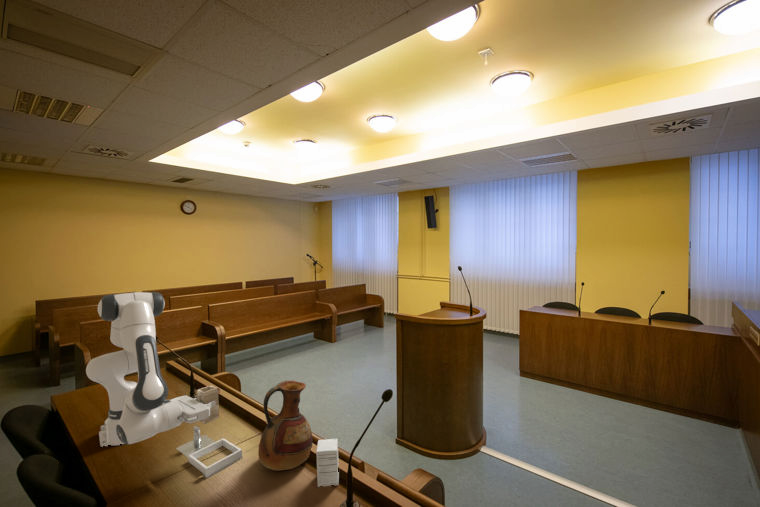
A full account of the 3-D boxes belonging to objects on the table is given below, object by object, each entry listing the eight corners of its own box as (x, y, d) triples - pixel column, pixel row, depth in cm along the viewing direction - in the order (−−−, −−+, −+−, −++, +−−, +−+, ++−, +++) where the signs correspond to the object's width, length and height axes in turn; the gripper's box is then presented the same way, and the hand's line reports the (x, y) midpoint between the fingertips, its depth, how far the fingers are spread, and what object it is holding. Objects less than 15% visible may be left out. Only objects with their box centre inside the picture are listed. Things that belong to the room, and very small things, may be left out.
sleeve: (198, 420, 134) (196, 390, 134) (216, 412, 139) (214, 383, 139) (205, 424, 130) (203, 393, 130) (223, 416, 136) (221, 386, 136)
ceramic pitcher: (318, 467, 127) (316, 388, 126) (262, 485, 118) (259, 401, 117) (305, 440, 145) (303, 371, 144) (256, 454, 136) (253, 381, 135)
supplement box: (318, 473, 124) (317, 439, 123) (339, 471, 124) (338, 437, 124) (316, 487, 116) (315, 451, 116) (338, 485, 117) (337, 449, 117)
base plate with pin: (175, 450, 140) (174, 429, 140) (205, 436, 150) (204, 417, 149) (189, 461, 133) (188, 439, 133) (218, 445, 142) (218, 425, 142)
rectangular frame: (188, 464, 131) (188, 455, 131) (223, 446, 142) (223, 438, 142) (206, 478, 122) (206, 468, 122) (242, 458, 134) (241, 449, 134)
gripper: (184, 413, 117) (223, 398, 129) (160, 399, 130) (197, 387, 141) (185, 431, 118) (224, 415, 129) (161, 416, 130) (198, 402, 141)
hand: (210, 400), depth 135 cm, fingers closed on sleeve, 6 cm apart
